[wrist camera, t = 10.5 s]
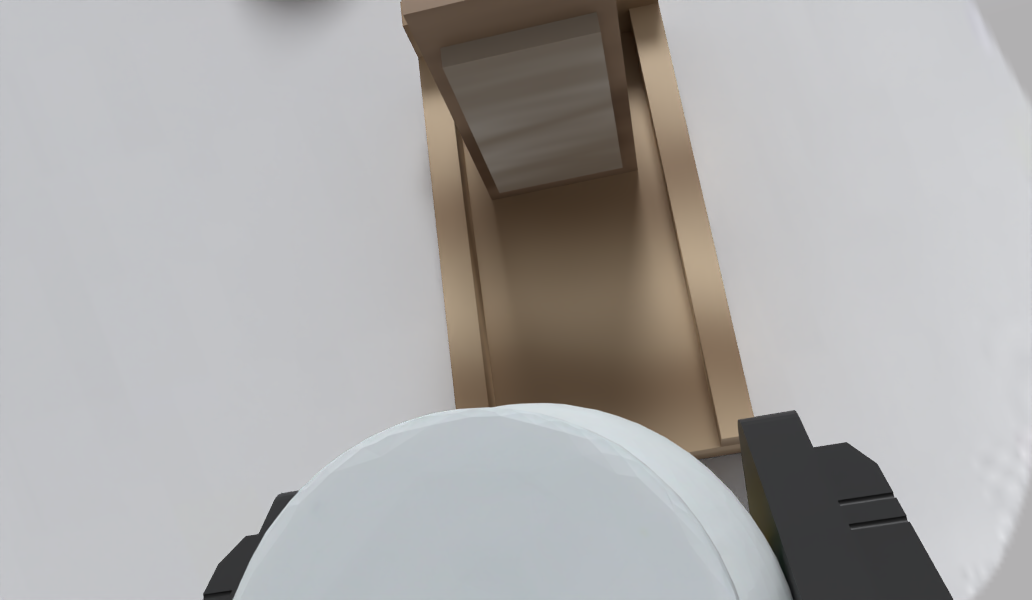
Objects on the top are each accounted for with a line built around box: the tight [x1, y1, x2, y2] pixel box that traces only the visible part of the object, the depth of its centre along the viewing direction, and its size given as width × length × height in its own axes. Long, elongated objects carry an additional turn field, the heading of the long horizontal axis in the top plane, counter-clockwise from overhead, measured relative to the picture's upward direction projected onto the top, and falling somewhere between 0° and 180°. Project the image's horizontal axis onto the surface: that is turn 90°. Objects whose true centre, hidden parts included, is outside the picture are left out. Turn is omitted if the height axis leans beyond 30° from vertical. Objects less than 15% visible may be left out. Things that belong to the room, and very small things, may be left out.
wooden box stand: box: [400, 0, 754, 460], centre depth 26 cm, size 16×8×12 cm, turn 8°
